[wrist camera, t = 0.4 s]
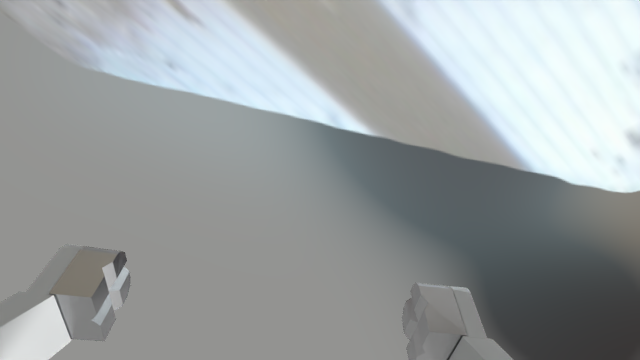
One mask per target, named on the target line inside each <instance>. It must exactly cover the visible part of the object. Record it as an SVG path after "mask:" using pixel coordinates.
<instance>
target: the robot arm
mask: <svg viewBox="0 0 640 360" xmlns="http://www.w3.org/2000/svg"><path fill="white" fill-rule="evenodd" d="M126 261H127V258H126V255H125V252H123V251H117V250H108V249H101V248H94V247H87V246H77V245H69V244H65V245H64V246H62V247H61V248H59V250H58V251H57V252H56V254H55V255H54V256H53V257H52V259H51V260H50V261H49V262H48V264H47V265H46V266H45V268H44V269H43V270H42V272H41V273H40V274H39V276H38V277H37V278H36V279H35V281H34V282H33V283H32V284H31V286H30V287H29V288H28V290H27V291H26V292H18V293H16V294H14V295H12V296H11V297H9V298H7V299H5V300H3V301H1V302H0V360H48V359H50V358H51V357H52V356H53V355H54V354H56V353H57V352H58V351H59V350H61V349H62V348H63V347H64V346H66V345H67V344H68V343H69V342H71V339H80V340H95V341H105V339H106V337H107V336H108V333H109V331H110V330H111V328H112V326H113V324H114V322H115V320H116V318H115V314H114V311H115V310H117V309H118V308H120V307H121V306H122V305H123V304H124V302H125V300H126V298H127V296H128V292H129V288H130V273H129V271H128V270H127V269H126V268H125V267H124V265H125V263H126ZM411 296H412V298H410V299H409V300H407V301H406V303H405V306H404V308H403V316H402V321H403V330H404V334H405V335H406V336H407V337H408V339H409V340H410V341H409V343H408V345H407V354H408V358H409V360H513V359H512V358H511V357H510V356H509V355H508V354H507V353H506V352H505V351H504V350H503V349H502V348H501V347H500V346H499V345H498V344H497V343H496V342H494V340H493V339H487V337H486V334H485V331H484V328H483V326H482V323H481V321H480V318H479V315H478V312H477V309H476V307H475V304H474V301H473V299H472V296H471V293H470V291H469V290H468V289H467V288H462V287H452V286H445V285H435V284H424V283H415V284H414V285H413V286H412V289H411Z"/></svg>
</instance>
